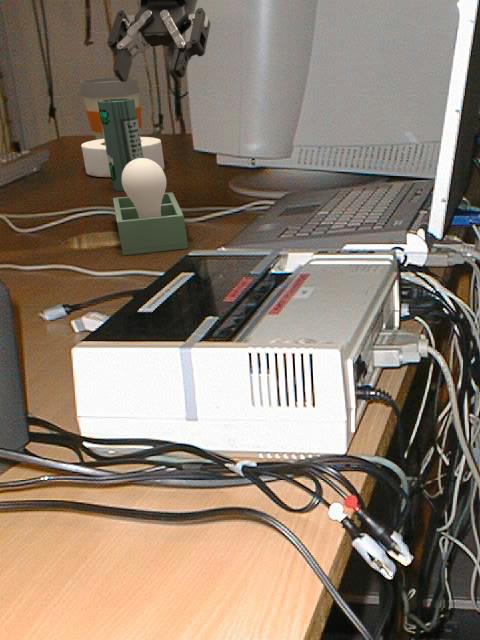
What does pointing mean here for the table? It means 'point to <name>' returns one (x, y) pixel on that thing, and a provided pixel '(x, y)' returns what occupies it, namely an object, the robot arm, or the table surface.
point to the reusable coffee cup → (107, 90)
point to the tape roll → (98, 157)
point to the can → (120, 135)
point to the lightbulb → (144, 186)
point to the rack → (150, 227)
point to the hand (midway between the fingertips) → (147, 77)
